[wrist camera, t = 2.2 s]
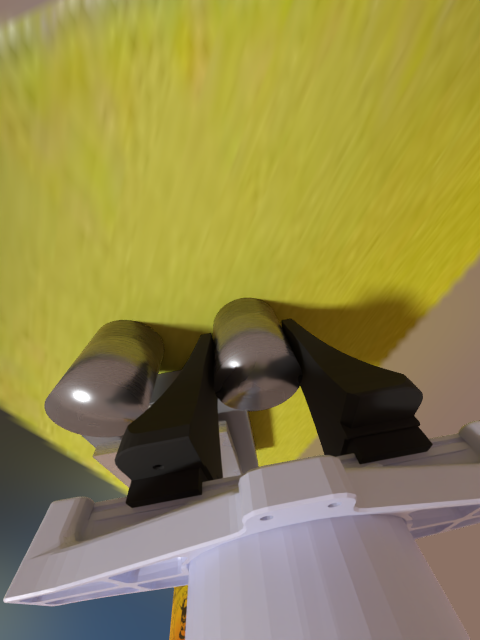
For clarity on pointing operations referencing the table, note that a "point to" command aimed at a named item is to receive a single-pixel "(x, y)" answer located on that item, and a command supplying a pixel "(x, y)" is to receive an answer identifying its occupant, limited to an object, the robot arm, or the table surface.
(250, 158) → the table surface
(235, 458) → the scale pan
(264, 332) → the steel weight
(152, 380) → the cylinder
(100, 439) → the scale base
